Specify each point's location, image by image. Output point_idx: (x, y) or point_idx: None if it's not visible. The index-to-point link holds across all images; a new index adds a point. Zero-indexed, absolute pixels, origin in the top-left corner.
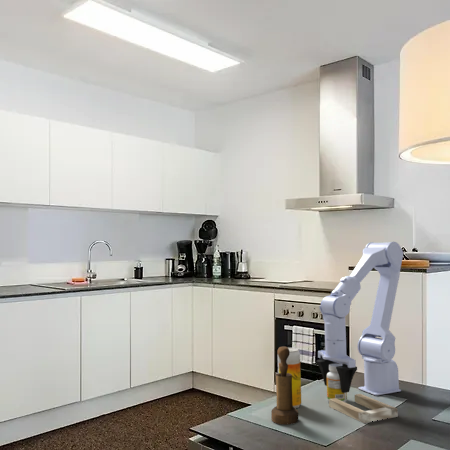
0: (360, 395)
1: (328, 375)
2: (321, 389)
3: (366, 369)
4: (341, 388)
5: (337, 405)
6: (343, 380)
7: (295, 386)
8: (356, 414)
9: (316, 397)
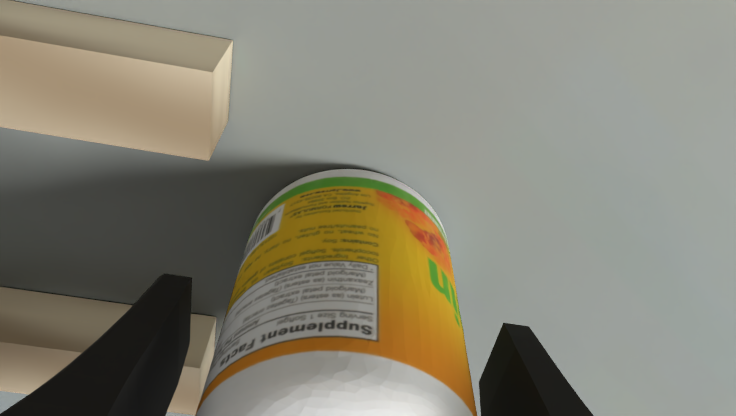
0: None
1: (368, 395)
2: (679, 361)
3: None
4: (158, 299)
5: (32, 27)
6: (52, 387)
7: None
8: None
9: (565, 170)
